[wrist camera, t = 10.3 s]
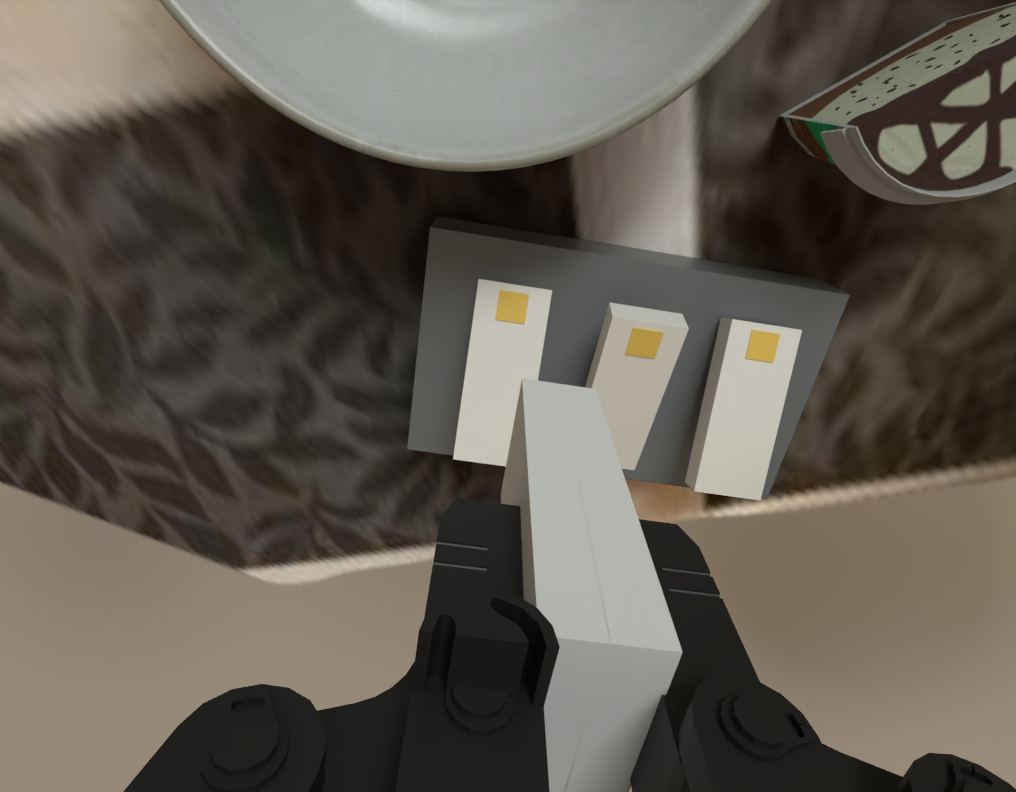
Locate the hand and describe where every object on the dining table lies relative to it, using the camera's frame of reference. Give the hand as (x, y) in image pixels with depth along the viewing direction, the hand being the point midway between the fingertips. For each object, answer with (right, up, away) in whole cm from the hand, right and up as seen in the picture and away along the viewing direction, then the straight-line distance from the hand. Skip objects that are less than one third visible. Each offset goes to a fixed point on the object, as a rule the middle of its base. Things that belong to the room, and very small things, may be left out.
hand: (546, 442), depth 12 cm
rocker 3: (+13, 0, +22) cm, 25 cm away
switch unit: (+6, +4, +27) cm, 28 cm away
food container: (+20, +17, +22) cm, 34 cm away
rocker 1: (-1, +2, +21) cm, 21 cm away
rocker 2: (+6, +1, +22) cm, 22 cm away
